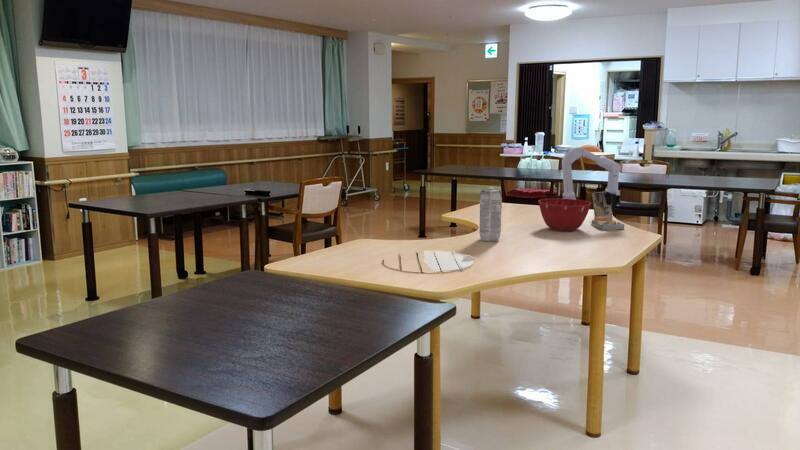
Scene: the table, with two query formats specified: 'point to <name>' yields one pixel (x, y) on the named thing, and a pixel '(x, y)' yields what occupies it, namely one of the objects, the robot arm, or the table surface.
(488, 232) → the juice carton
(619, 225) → the tray
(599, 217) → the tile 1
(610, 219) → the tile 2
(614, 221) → the board
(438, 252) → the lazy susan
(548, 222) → the mixing bowl
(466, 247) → the table surface
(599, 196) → the coffee box
